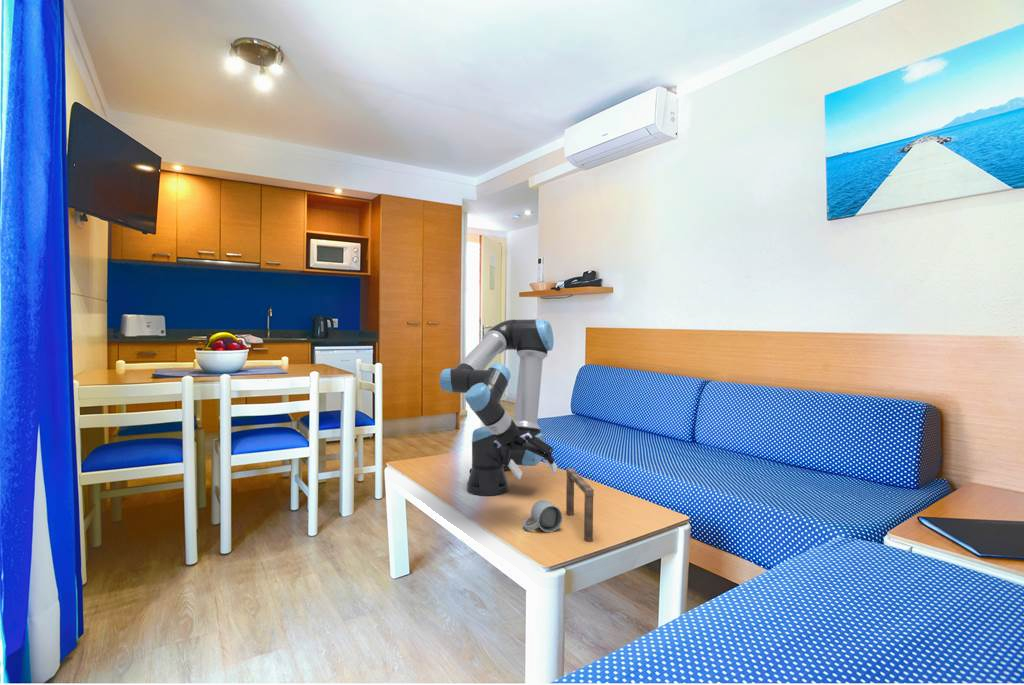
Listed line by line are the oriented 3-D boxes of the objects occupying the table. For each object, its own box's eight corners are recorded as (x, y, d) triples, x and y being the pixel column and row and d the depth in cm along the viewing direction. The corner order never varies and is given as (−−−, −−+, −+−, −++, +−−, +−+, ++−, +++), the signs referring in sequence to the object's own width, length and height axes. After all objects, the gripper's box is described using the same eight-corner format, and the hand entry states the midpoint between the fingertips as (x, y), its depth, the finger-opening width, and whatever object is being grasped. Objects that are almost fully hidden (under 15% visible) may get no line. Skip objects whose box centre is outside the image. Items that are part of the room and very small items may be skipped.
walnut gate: (565, 512, 157) (565, 468, 157) (572, 512, 158) (573, 468, 158) (585, 541, 135) (586, 490, 135) (593, 541, 136) (594, 489, 135)
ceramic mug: (551, 520, 151) (551, 496, 151) (562, 530, 143) (562, 504, 143) (519, 525, 147) (519, 500, 147) (529, 535, 140) (528, 509, 139)
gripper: (466, 443, 152) (503, 487, 160) (532, 427, 139) (568, 476, 147) (475, 426, 158) (510, 469, 166) (539, 409, 144) (573, 457, 152)
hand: (537, 473), depth 156 cm, fingers open, 13 cm apart
